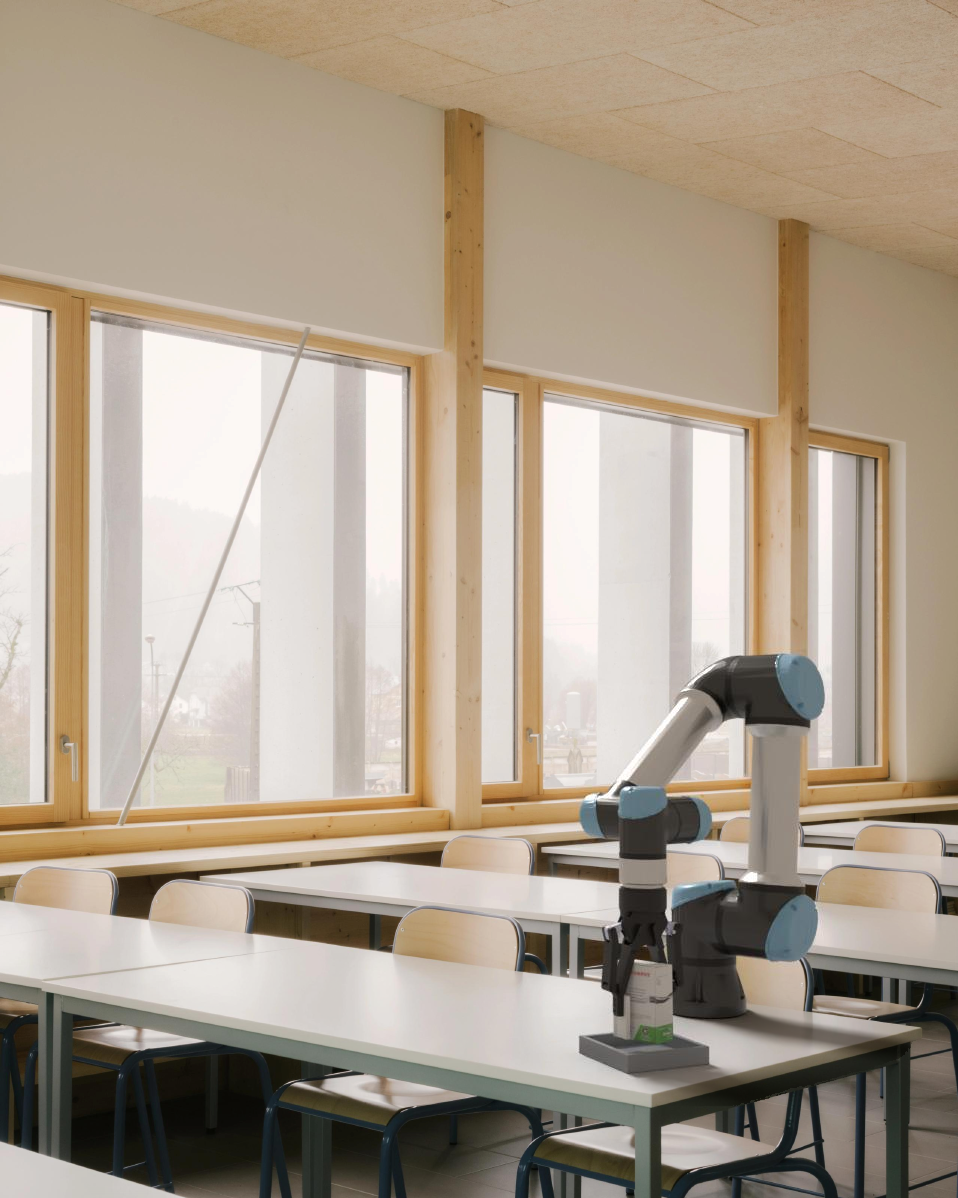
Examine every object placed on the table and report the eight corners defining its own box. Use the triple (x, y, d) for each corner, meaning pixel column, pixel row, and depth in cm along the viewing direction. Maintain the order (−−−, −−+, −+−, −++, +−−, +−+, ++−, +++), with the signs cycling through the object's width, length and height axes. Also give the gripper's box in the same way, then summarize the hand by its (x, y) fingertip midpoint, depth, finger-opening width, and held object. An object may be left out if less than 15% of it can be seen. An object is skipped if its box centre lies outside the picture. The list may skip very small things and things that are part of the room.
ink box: (674, 1041, 218) (675, 963, 219) (655, 1046, 214) (655, 966, 216) (630, 1032, 224) (631, 956, 225) (611, 1036, 220) (611, 959, 222)
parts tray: (657, 1044, 229) (657, 1027, 229) (709, 1064, 216) (709, 1046, 216) (579, 1052, 222) (579, 1035, 223) (627, 1073, 209) (627, 1055, 210)
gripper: (681, 880, 229) (681, 1026, 227) (577, 885, 221) (576, 1036, 219) (707, 885, 222) (708, 1035, 220) (601, 890, 214) (601, 1046, 212)
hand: (642, 1035), depth 219 cm, fingers closed on ink box, 6 cm apart
